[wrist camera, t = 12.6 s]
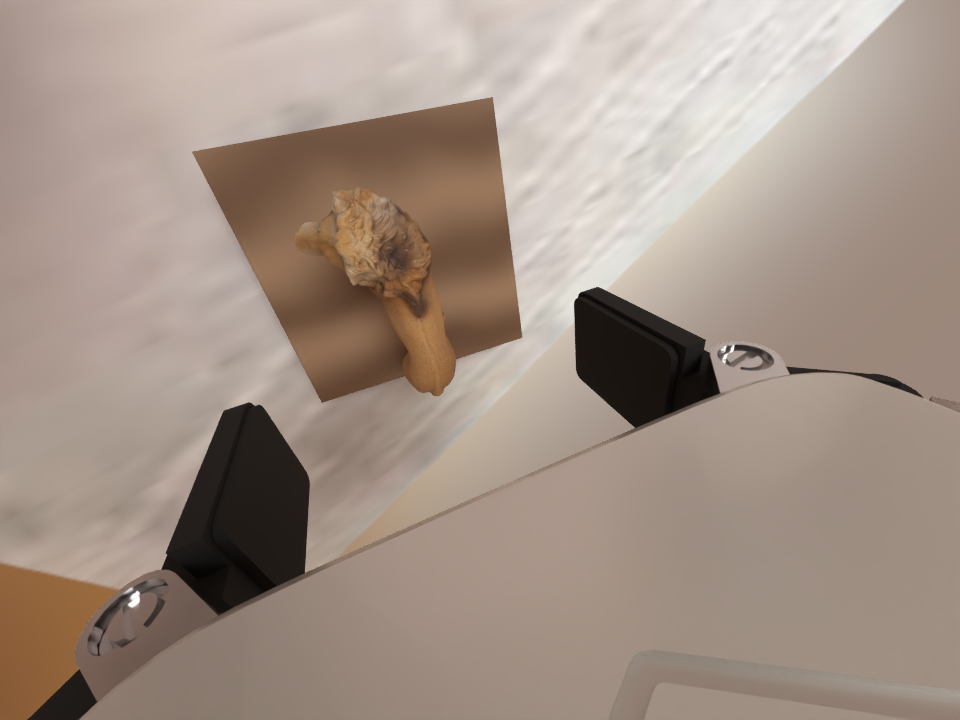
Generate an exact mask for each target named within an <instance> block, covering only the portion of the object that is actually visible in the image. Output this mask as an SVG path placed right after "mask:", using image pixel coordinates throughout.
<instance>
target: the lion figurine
mask: <svg viewBox="0 0 960 720" xmlns="http://www.w3.org/2000/svg"><path fill="white" fill-rule="evenodd" d="M331 193H332V195H333V201H332V211H331V212H330V214H329V215H328V216H327V217H325V218H323V219H322V220H320V221H318V222H306V223H304V224H303V225H302V226H301V227H300V229H299V231H298V232H297V233H296V234H295V236H294V245H295V248H296V249H297V250H298V251H299V252H301V253H306V254H308V255H311V256H325V257H326V258H327V260H328V261H329V262H330V263H331V264H333V265H335V266H338V267H340V268H342V269H343V270H344V272H345V273H346V274H347V276H348V277H349V279H350V282H351V283H352V285H353V286H354V285H356V284H359V285H360V286H364V287H366V288H368V289H370V290H371V291H372V292H373V293H374V294H375V295H377V296H378V297H380V298H381V299H382V302H383V306H384V309H385V312H386V314H387V317H388V319H389V321H390V323H391V325H392V326H393V328H394V330H395V332H396V333H397V335H398V336H399V338H400V339H401V341H402V342H403V344H404V345H405V347H406V348H407V350H408V353H407V355H406V356H405V357H404V359H403V370H404V373H405V376H406V378H407V379H408V381H409V382H410V383H411V384H412V385H413V386H414V387H415V388H416V389H417V390H418V391H419V392H422V393H425V392H431V393H432V395H434V396H440V395H441V394H442V393H443V390H444V388H445V387H446V386H447V385H448V384H449V383H450V382H451V380H452V379H453V377H454V373H455V367H456V358H455V353H454V350H453V348H452V346H451V344H450V342H449V339H448V338H447V337H446V334H445V329H444V322H445V314H444V313H443V312H442V310H441V304H440V299H439V296H438V293H437V290H436V287H435V285H434V282H433V280H432V278H431V276H430V275H431V268H430V266H431V261H432V249H431V247H430V245H429V242H428V240H427V238H426V236H425V235H424V234H423V233H422V231H421V230H420V226H419V224H418V223H417V222H415V221H414V220H413V219H412V218H411V217H410V215H409V214H408V213H407V212H406V211H402V209H401V207H400V206H399V205H397V204H396V203H392V201H391V199H390V198H388V197H379V196H378V195H377V194H374V193H372V192H371V191H370V190H369V189H361V188H359V187H357V188H356V189H355V190H348V191H345V190H340V191H333V192H331Z"/></svg>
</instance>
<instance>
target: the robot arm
mask: <svg viewBox="0 0 960 720" xmlns="http://www.w3.org/2000/svg"><path fill="white" fill-rule="evenodd" d="M574 313H575V344H576V345H575V348H576V371H577V374H578V376H579V378H580V379H581V380H582V381H583V382H584V383H586V384H587V385H588V386H589V387H590V388H591V389H592V390H593V391H595V392H596V393H597V394H598V395H599V396H600V397H601V398H603V399H604V400H605V401H606V402H607V403H608V404H609V405H610V406H611V407H612V408H614V409H615V410H616V411H617V412H618V413H619V414H620V415H621V416H622V417H624V418H625V419H626V420H627V421H628V422H629V423H630V424H632V425H633V426H634V427H635V429H632V430H630V431H628V432H625V433H623V434H621V435H618V436H616V437H614V438H611V439H609V440H607V441H604V442H602V443H600V444H597V445H595V446H593V447H590V448H588V449H586V450H583V451H581V452H579V453H577V454H574V455H572V456H570V457H567V458H565V459H563V460H560V461H558V462H556V463H553V464H551V465H549V466H546V467H544V468H542V469H539V470H537V471H535V472H532V473H530V474H528V475H526V476H523V477H521V478H519V479H517V480H514V481H512V482H510V483H507V484H505V485H503V486H500V487H498V488H496V489H494V490H491V491H489V492H487V493H484V494H482V495H480V496H477V497H475V498H473V499H471V500H468V501H466V502H464V503H461V504H459V505H457V506H455V507H452V508H450V509H448V510H446V511H443V512H441V513H439V514H437V515H434V516H432V517H430V518H427V519H426V520H423V521H421V522H418V523H416V524H414V525H412V526H410V527H407V528H405V529H403V530H400V531H398V532H396V533H393V534H391V535H389V536H387V537H385V538H382V539H380V540H378V541H376V542H373V543H371V544H369V545H366V546H364V547H362V548H360V549H357V550H355V551H353V552H351V553H348V554H346V555H344V556H342V557H340V558H337V559H335V560H333V561H331V562H329V563H326V564H324V565H322V566H320V567H318V568H315V569H313V570H311V571H309V572H307V573H305V559H306V541H307V523H308V505H309V487H310V482H309V477H308V475H307V472H306V471H305V469H304V468H303V466H302V465H301V463H300V462H299V460H298V459H297V457H296V456H295V454H294V453H293V451H292V450H291V448H290V447H289V445H288V444H287V442H286V441H285V439H284V438H283V436H282V435H281V433H280V432H279V430H278V428H277V427H276V425H275V424H274V422H273V421H272V419H271V418H270V416H269V415H268V413H267V412H266V410H265V409H264V408H263V407H262V406H261V405H257V406H254V405H253V404H252V403H246V404H243V405H240V406H237V407H233V408H230V409H227V410H225V411H224V412H223V413H222V416H221V418H220V421H219V423H218V426H217V428H216V431H215V433H214V436H213V438H212V440H211V443H210V445H209V448H208V450H207V453H206V455H205V458H204V460H203V463H202V465H201V468H200V470H199V472H198V475H197V477H196V480H195V482H194V485H193V487H192V490H191V492H190V495H189V497H188V499H187V502H186V504H185V507H184V509H183V512H182V514H181V517H180V519H179V522H178V524H177V527H176V529H175V531H174V534H173V536H172V539H171V541H170V544H169V546H168V549H167V551H166V554H167V557H166V559H165V562H164V564H163V567H162V569H161V570H156V571H153V572H150V573H147V574H144V575H143V576H141V577H139V578H137V579H135V580H134V581H132V582H130V583H128V584H127V585H126V586H124V587H123V588H122V589H120V590H119V591H118V592H116V593H115V594H114V595H113V596H112V597H111V598H110V599H109V600H108V601H107V602H106V603H104V605H102V606H101V607H100V608H99V610H98V611H97V612H96V613H95V614H94V616H93V617H92V618H91V619H90V621H89V622H88V623H87V625H86V627H85V628H84V630H83V632H82V633H81V635H80V637H79V639H78V642H77V645H76V649H75V652H74V653H75V660H76V664H77V665H78V667H79V670H78V671H77V672H76V673H75V674H74V675H73V676H72V677H71V678H70V679H69V680H68V681H67V682H66V683H65V684H64V685H63V686H62V687H61V688H60V689H59V690H58V691H57V692H56V693H55V694H53V696H51V697H50V699H48V700H47V701H46V702H45V703H44V704H43V705H42V706H41V707H40V708H39V709H38V710H37V711H36V712H35V713H34V714H33V715H32V716H31V717H30V718H29V719H28V720H960V403H959V402H954V401H949V400H945V399H940V398H935V397H931V398H930V400H926V399H924V398H923V397H922V396H921V395H920V394H919V393H918V392H917V391H916V390H914V389H912V388H911V387H909V386H907V385H905V384H903V383H901V382H900V381H898V380H896V379H894V378H891V377H888V376H884V375H879V374H864V373H852V372H840V371H829V370H817V369H806V368H795V367H786V366H785V364H784V362H783V360H782V359H781V357H780V356H779V355H778V354H777V353H776V352H774V351H773V350H771V349H769V348H767V347H764V346H762V345H759V344H754V343H749V342H741V341H733V342H725V343H720V344H718V345H716V346H714V347H713V348H712V349H711V351H710V353H709V352H707V351H705V350H704V346H705V341H706V340H705V339H703V338H701V337H699V336H697V335H694V334H692V333H690V332H688V331H686V330H684V329H682V328H680V327H678V326H676V325H674V324H672V323H670V322H668V321H666V320H664V319H662V318H660V317H658V316H656V315H654V314H652V313H650V312H648V311H646V310H644V309H642V308H640V307H638V306H636V305H634V304H632V303H630V302H628V301H626V300H624V299H622V298H620V297H618V296H616V295H614V294H611V293H610V292H608V291H606V290H604V289H602V288H599V287H596V288H593V289H590V290H587V291H584V292H581V293H580V294H579V296H578V298H577V299H576V300H575V302H574Z"/></svg>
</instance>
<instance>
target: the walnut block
mask: <svg viewBox="0 0 960 720" xmlns="http://www.w3.org/2000/svg"><path fill="white" fill-rule="evenodd" d="M192 153H193V155H194V157H195V158H196V160H197V162H198V164H199V166H200V168H201V170H202V172H203V174H204V176H205V178H206V180H207V182H208V184H209V186H210V187H211V189H212V191H213V193H214V195H215V197H216V199H217V201H218V203H219V205H220V207H221V209H222V211H223V213H224V215H225V216H226V218H227V220H228V222H229V224H230V226H231V228H232V230H233V232H234V234H235V236H236V238H237V240H238V242H239V244H240V245H241V247H242V249H243V251H244V253H245V255H246V257H247V259H248V261H249V263H250V265H251V267H252V269H253V271H254V273H255V274H256V276H257V278H258V280H259V282H260V284H261V286H262V288H263V290H264V292H265V294H266V296H267V298H268V300H269V301H270V303H271V305H272V307H273V309H274V311H275V313H276V315H277V317H278V319H279V321H280V323H281V325H282V327H283V329H284V330H285V332H286V334H287V336H288V338H289V340H290V342H291V344H292V346H293V348H294V350H295V352H296V354H297V356H298V358H299V359H300V361H301V363H302V365H303V367H304V369H305V371H306V373H307V375H308V377H309V379H310V381H311V383H312V385H313V387H314V388H315V390H316V392H317V394H318V396H319V398H320V400H321V402H326V401H329V400H332V399H335V398H338V397H341V396H344V395H347V394H350V393H353V392H356V391H359V390H362V389H366V388H369V387H372V386H375V385H378V384H381V383H384V382H387V381H390V380H393V379H396V378H399V377H403V376H405V373H404V370H403V359H404V357H405V356H406V355H407V353H408V350H407V348H406V347H405V345H404V344H403V342H402V341H401V339H400V338H399V336H398V335H397V333H396V332H395V330H394V328H393V326H392V325H391V323H390V321H389V319H388V317H387V314H386V312H385V309H384V306H383V302H382V299H381V298H380V297H378V296H377V295H375V294H374V293H373V292H372V291H371V290H370V289H368V288H366V287H364V286H360V285H359V284H356V285H354V286H353V285H352V283H351V282H350V279H349V277H348V276H347V274H346V273H345V272H344V270H343V269H342V268H340V267H338V266H335V265H333V264H331V263H330V262H329V261H328V260H327V258H326V257H325V256H311V255H308V254H306V253H301V252H299V251H298V250H297V249H296V248H295V245H294V236H295V234H296V233H297V232H298V231H299V229H300V227H301V226H302V225H303V224H304V223H306V222H318V221H320V220H322V219H323V218H325V217H327V216H328V215H329V214H330V212H331V211H332V201H333V195H332V193H331V192H333V191H340V190H345V191H348V190H355V189H356V188H357V187H359V188H361V189H369V190H370V191H371V192H372V193H374V194H377V195H378V196H379V197H388V198H390V199H391V201H392V203H396V204H397V205H399V206H400V207H401V209H402V211H406V212H407V213H408V214H409V215H410V217H411V218H412V219H413V220H414V221H415V222H417V223H418V224H419V226H420V230H421V231H422V233H423V234H424V235H425V236H426V238H427V240H428V242H429V245H430V247H431V249H432V261H431V266H430V268H431V275H430V276H431V278H432V280H433V282H434V285H435V287H436V290H437V293H438V296H439V299H440V304H441V310H442V312H443V313H444V314H445V322H444V329H445V334H446V337H447V338H448V339H449V342H450V344H451V346H452V348H453V350H454V353H455V358H456V359H458V358H461V357H464V356H467V355H470V354H473V353H476V352H480V351H483V350H486V349H489V348H492V347H495V346H498V345H501V344H504V343H507V342H510V341H513V340H516V339H520V338H522V332H521V324H520V315H519V307H518V299H517V291H516V283H515V275H514V267H513V258H512V250H511V242H510V234H509V226H508V218H507V210H506V201H505V193H504V185H503V177H502V169H501V161H500V153H499V144H498V136H497V128H496V120H495V112H494V104H493V97H491V98H486V99H480V100H475V101H469V102H464V103H458V104H453V105H447V106H442V107H436V108H431V109H425V110H420V111H414V112H409V113H403V114H398V115H392V116H387V117H381V118H376V119H370V120H365V121H359V122H354V123H348V124H343V125H337V126H332V127H326V128H321V129H315V130H310V131H304V132H299V133H293V134H288V135H282V136H277V137H271V138H266V139H260V140H255V141H249V142H244V143H238V144H233V145H227V146H222V147H216V148H211V149H205V150H200V151H194V152H192Z"/></svg>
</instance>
